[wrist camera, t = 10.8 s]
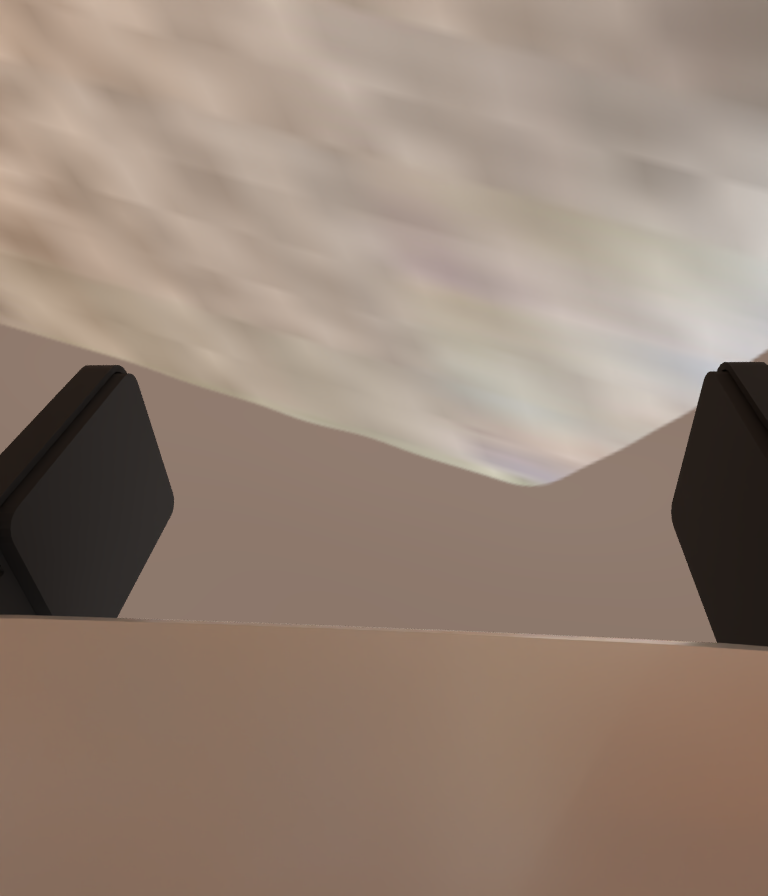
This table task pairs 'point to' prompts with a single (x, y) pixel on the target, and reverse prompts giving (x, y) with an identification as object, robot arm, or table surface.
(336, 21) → the table surface
